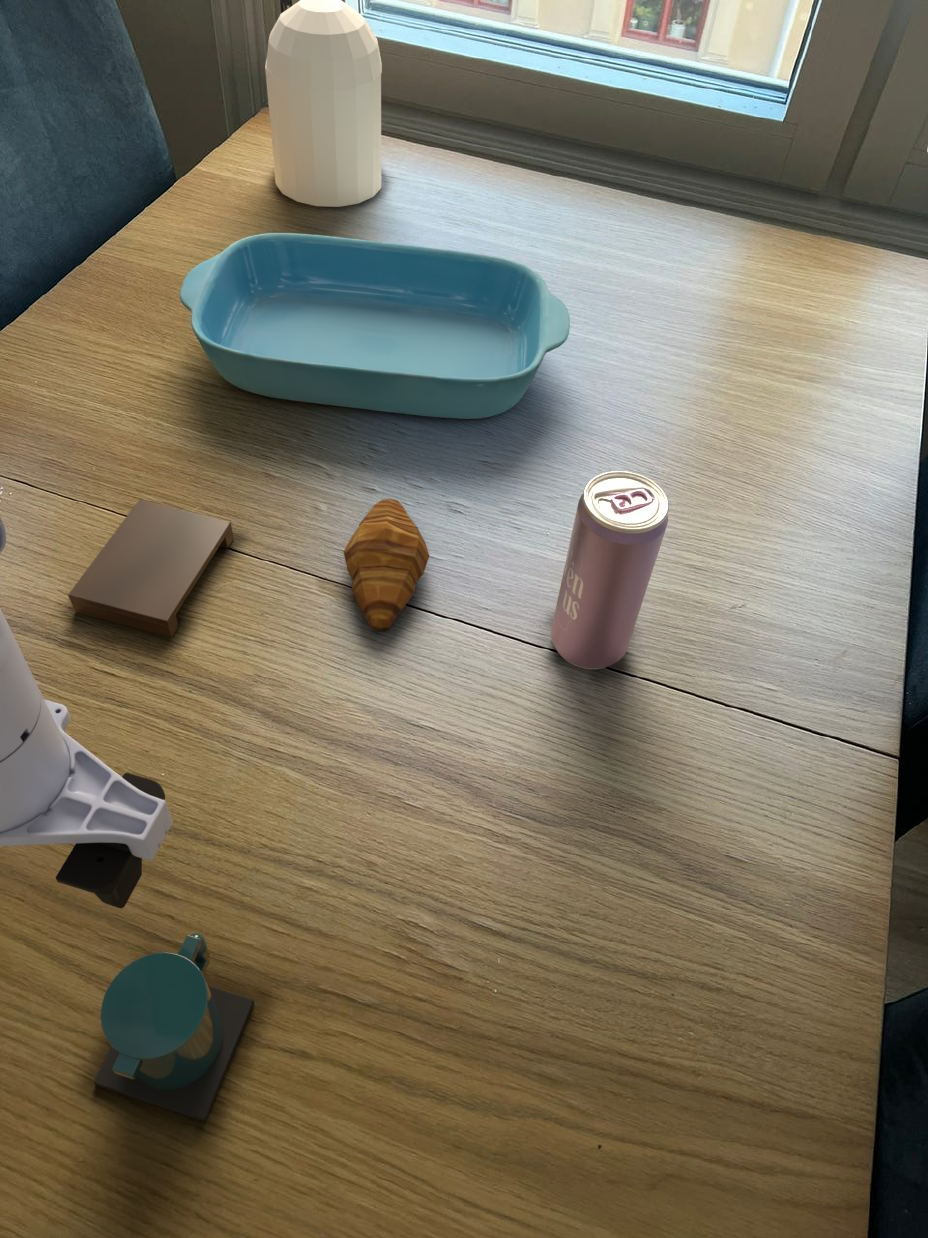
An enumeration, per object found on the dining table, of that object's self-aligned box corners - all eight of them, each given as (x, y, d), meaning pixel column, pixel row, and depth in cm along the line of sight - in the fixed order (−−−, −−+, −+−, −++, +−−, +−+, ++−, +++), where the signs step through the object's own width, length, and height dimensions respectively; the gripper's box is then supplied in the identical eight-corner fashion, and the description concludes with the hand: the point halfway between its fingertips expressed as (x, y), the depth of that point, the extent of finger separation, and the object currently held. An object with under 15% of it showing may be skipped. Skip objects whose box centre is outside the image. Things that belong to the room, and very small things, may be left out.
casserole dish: (561, 317, 101) (571, 255, 95) (559, 451, 86) (570, 387, 81) (222, 283, 101) (212, 219, 95) (163, 411, 86) (148, 345, 81)
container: (391, 164, 121) (392, -14, 106) (371, 213, 113) (369, 26, 97) (290, 151, 122) (276, -28, 106) (262, 199, 113) (243, 11, 98)
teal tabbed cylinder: (101, 1088, 50) (72, 1056, 45) (169, 948, 54) (149, 907, 50) (191, 1118, 49) (171, 1089, 44) (252, 974, 54) (239, 935, 49)
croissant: (425, 639, 71) (427, 596, 67) (336, 635, 71) (333, 591, 67) (431, 516, 80) (433, 471, 76) (351, 512, 79) (349, 467, 76)
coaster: (94, 1085, 50) (92, 1083, 50) (151, 970, 54) (150, 967, 54) (205, 1122, 49) (203, 1120, 49) (254, 1002, 53) (253, 999, 53)
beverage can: (640, 661, 71) (689, 519, 59) (570, 682, 69) (606, 540, 58) (604, 605, 74) (644, 460, 63) (537, 623, 73) (565, 478, 61)
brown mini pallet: (74, 612, 71) (67, 594, 69) (144, 516, 78) (139, 498, 76) (172, 638, 70) (167, 621, 68) (234, 538, 77) (230, 521, 75)
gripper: (181, 685, 38) (224, 837, 49) (-130, 598, 40) (-25, 762, 50) (92, 836, 34) (160, 968, 44) (-255, 730, 36) (-111, 880, 46)
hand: (56, 867), depth 47 cm, fingers open, 7 cm apart
